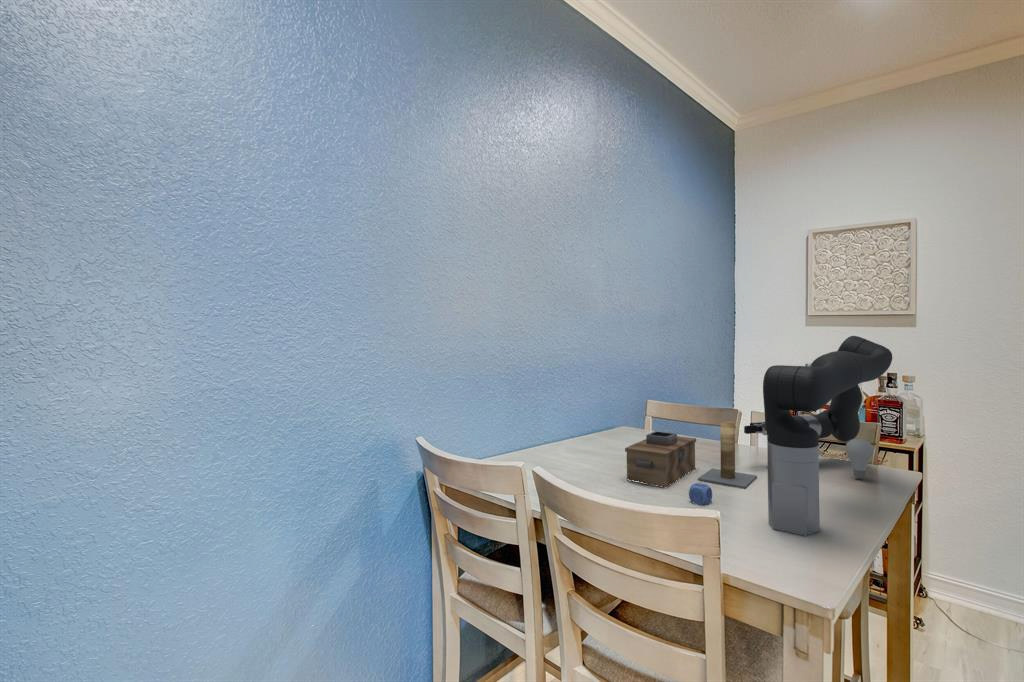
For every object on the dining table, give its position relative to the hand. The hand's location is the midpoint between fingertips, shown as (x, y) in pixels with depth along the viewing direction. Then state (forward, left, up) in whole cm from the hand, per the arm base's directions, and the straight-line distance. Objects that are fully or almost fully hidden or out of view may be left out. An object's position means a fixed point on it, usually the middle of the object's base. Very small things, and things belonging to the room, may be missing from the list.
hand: (757, 432), depth 135 cm
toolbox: (-15, +22, -12) cm, 29 cm away
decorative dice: (-31, +5, -12) cm, 34 cm away
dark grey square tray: (-15, +22, -3) cm, 26 cm away
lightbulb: (+11, -22, -12) cm, 28 cm away
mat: (-9, +6, -12) cm, 16 cm away
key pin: (-9, +5, -11) cm, 15 cm away
